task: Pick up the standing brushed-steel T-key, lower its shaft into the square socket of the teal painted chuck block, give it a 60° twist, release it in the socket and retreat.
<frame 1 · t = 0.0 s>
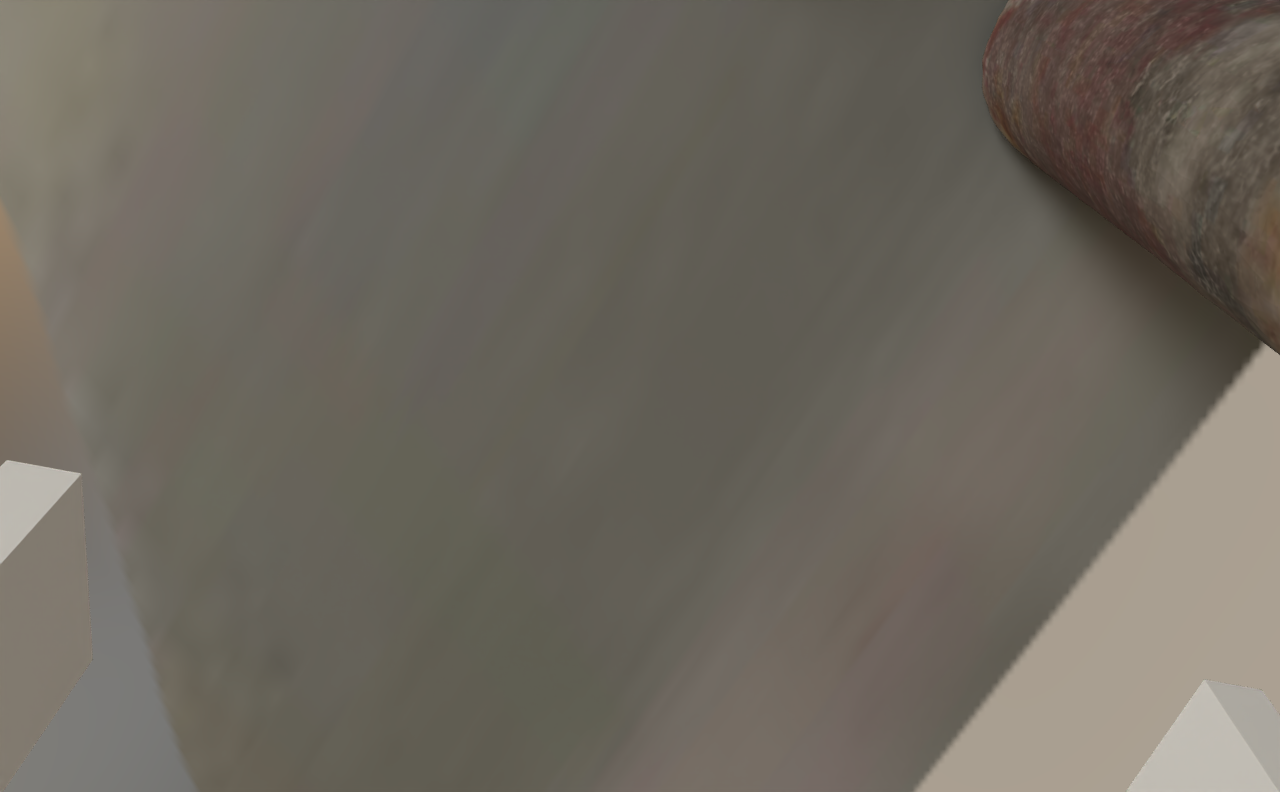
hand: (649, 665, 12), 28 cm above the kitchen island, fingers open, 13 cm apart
brown mottled cylinder: (1079, 56, 35), on the kitchen island
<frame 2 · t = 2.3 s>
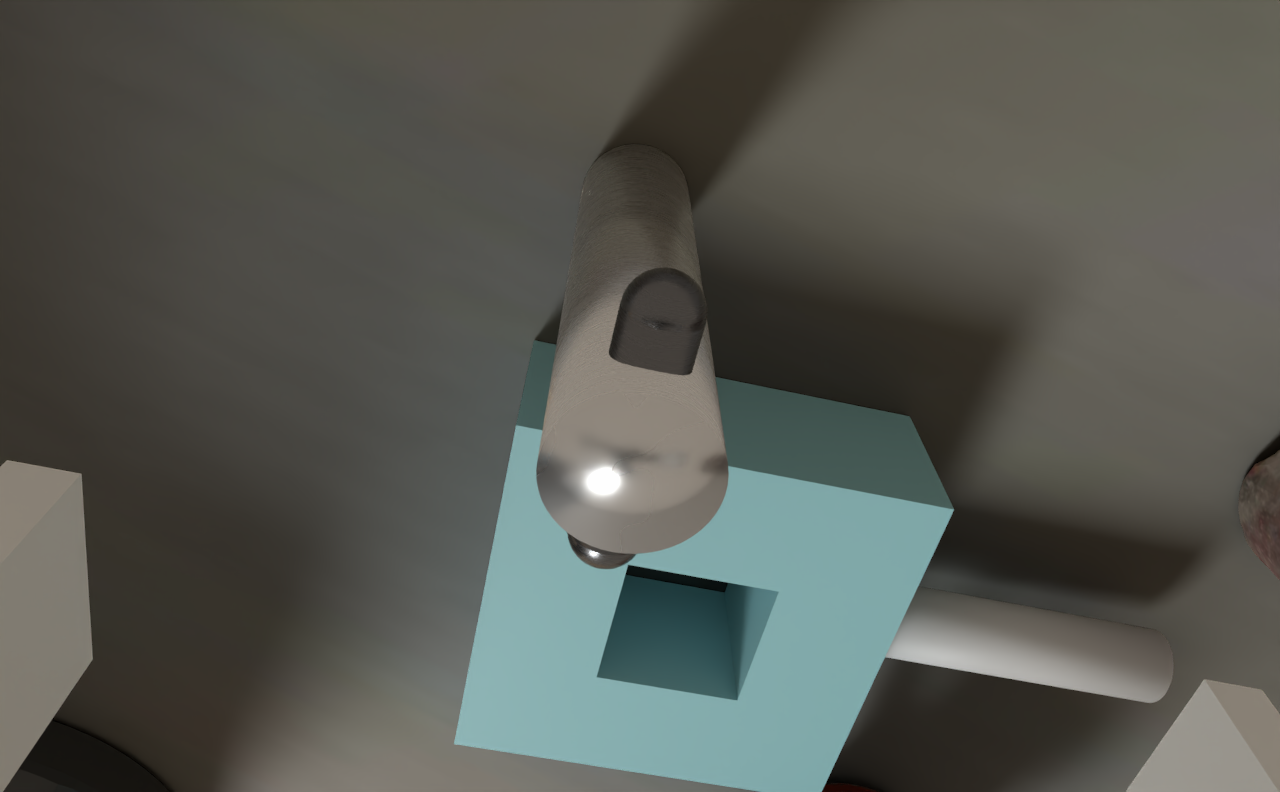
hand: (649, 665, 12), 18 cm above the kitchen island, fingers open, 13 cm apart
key: (635, 197, 28), on the kitchen island
chuck block: (679, 531, 33), on the kitchen island
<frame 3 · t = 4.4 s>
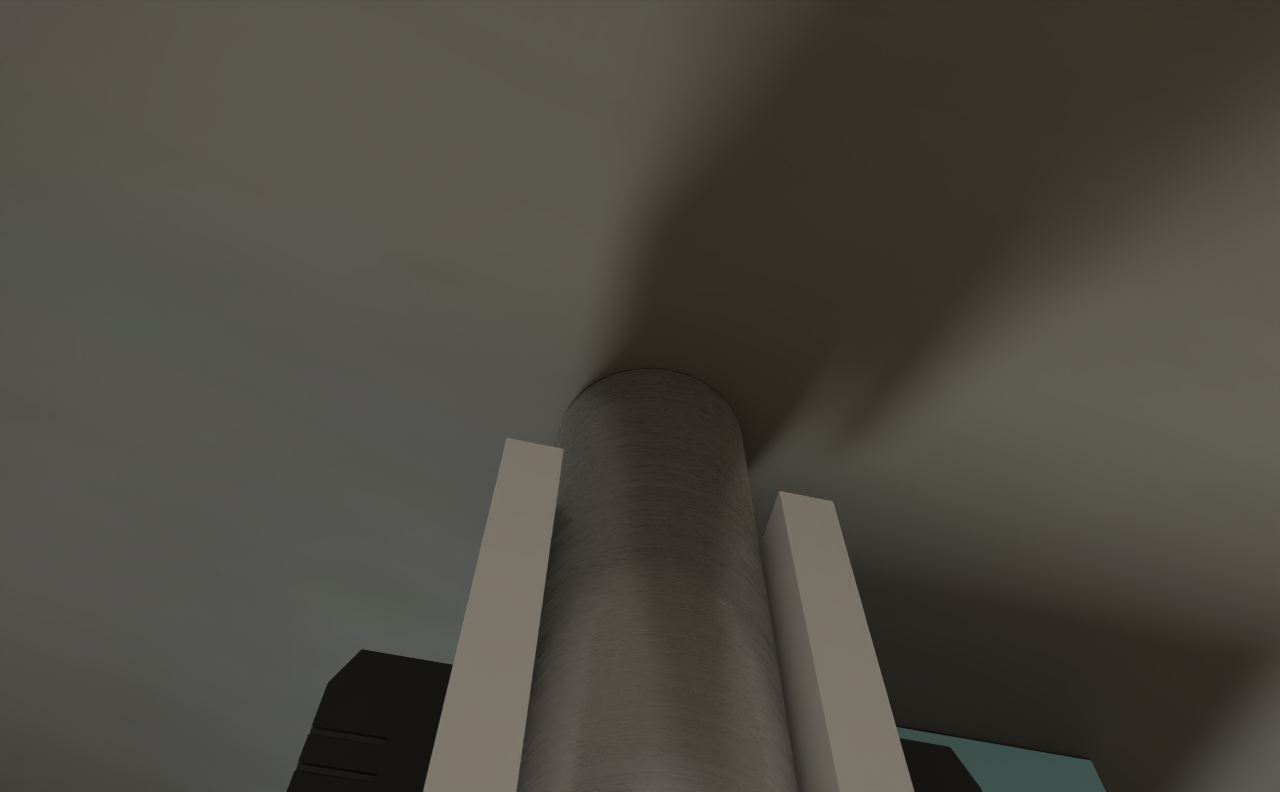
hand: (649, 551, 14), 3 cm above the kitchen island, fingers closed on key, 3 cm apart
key: (649, 451, 16), on the kitchen island, touching gripper
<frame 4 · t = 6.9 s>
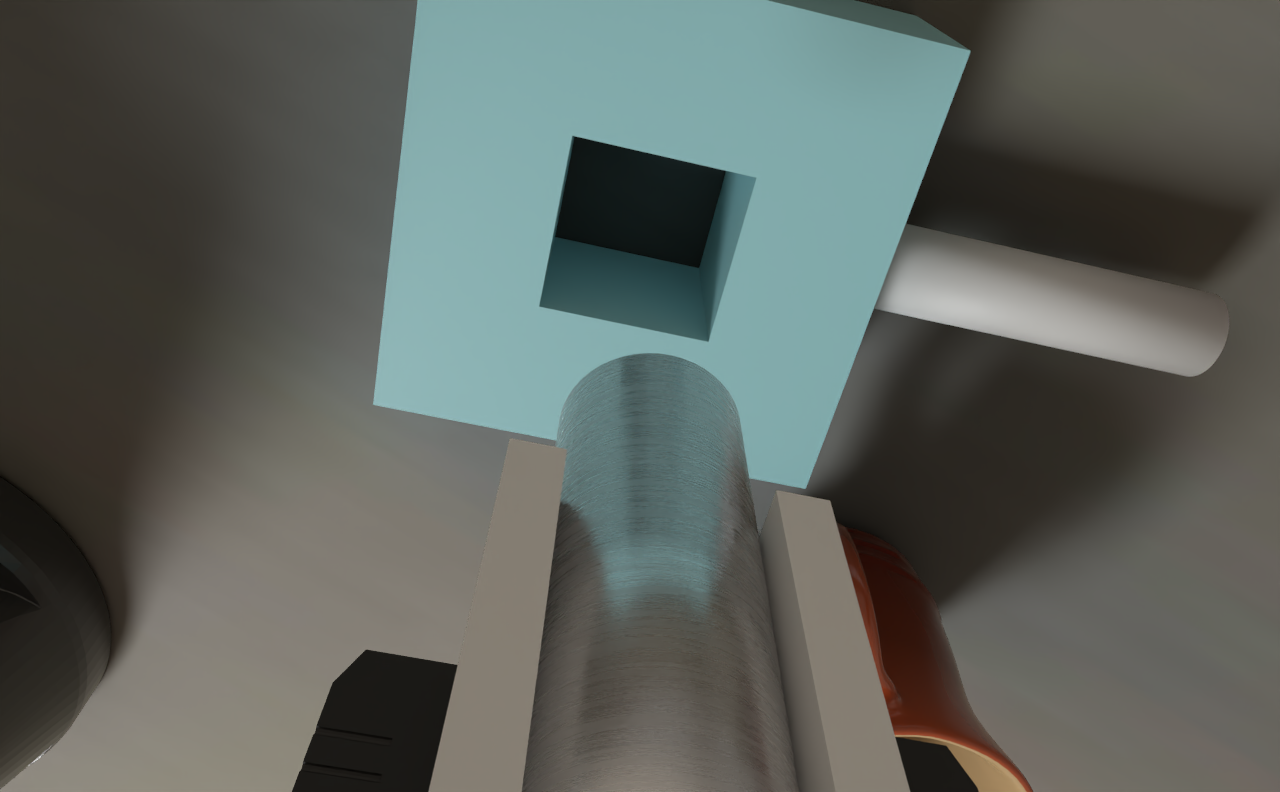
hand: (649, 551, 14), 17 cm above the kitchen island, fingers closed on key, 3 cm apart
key: (649, 434, 16), point 14 cm above the kitchen island, touching gripper
chuck block: (644, 182, 28), on the kitchen island
mug: (814, 555, 35), on the kitchen island
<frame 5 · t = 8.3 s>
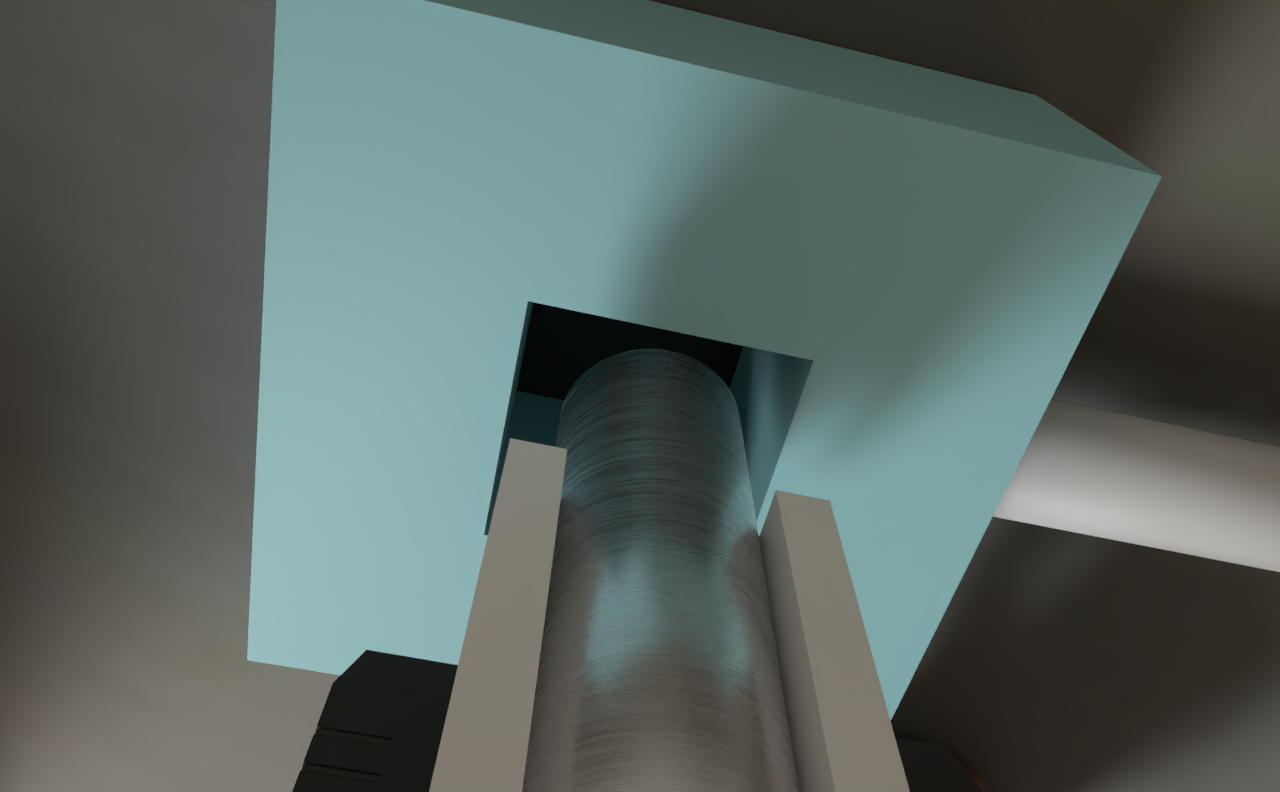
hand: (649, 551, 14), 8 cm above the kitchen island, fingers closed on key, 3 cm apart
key: (649, 429, 16), point 4 cm above the kitchen island, touching gripper
chuck block: (640, 320, 20), on the kitchen island
when the fingers open (6 cm above the kitchen island, at t = 9.3 s): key drops 3 cm, resting in chuck block.
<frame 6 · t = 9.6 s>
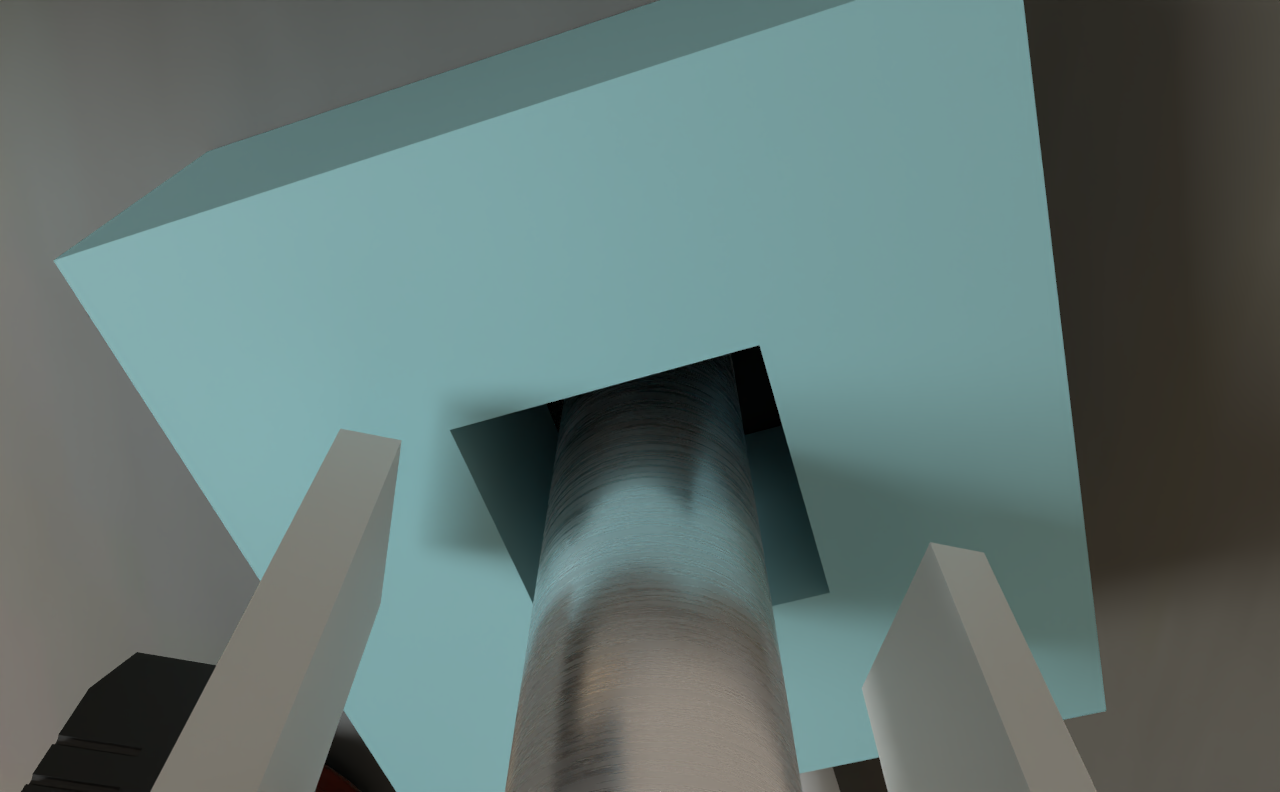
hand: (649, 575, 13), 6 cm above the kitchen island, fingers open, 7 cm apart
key: (650, 355, 19), resting in chuck block
chuck block: (648, 357, 19), on the kitchen island
mug: (300, 781, 25), on the kitchen island
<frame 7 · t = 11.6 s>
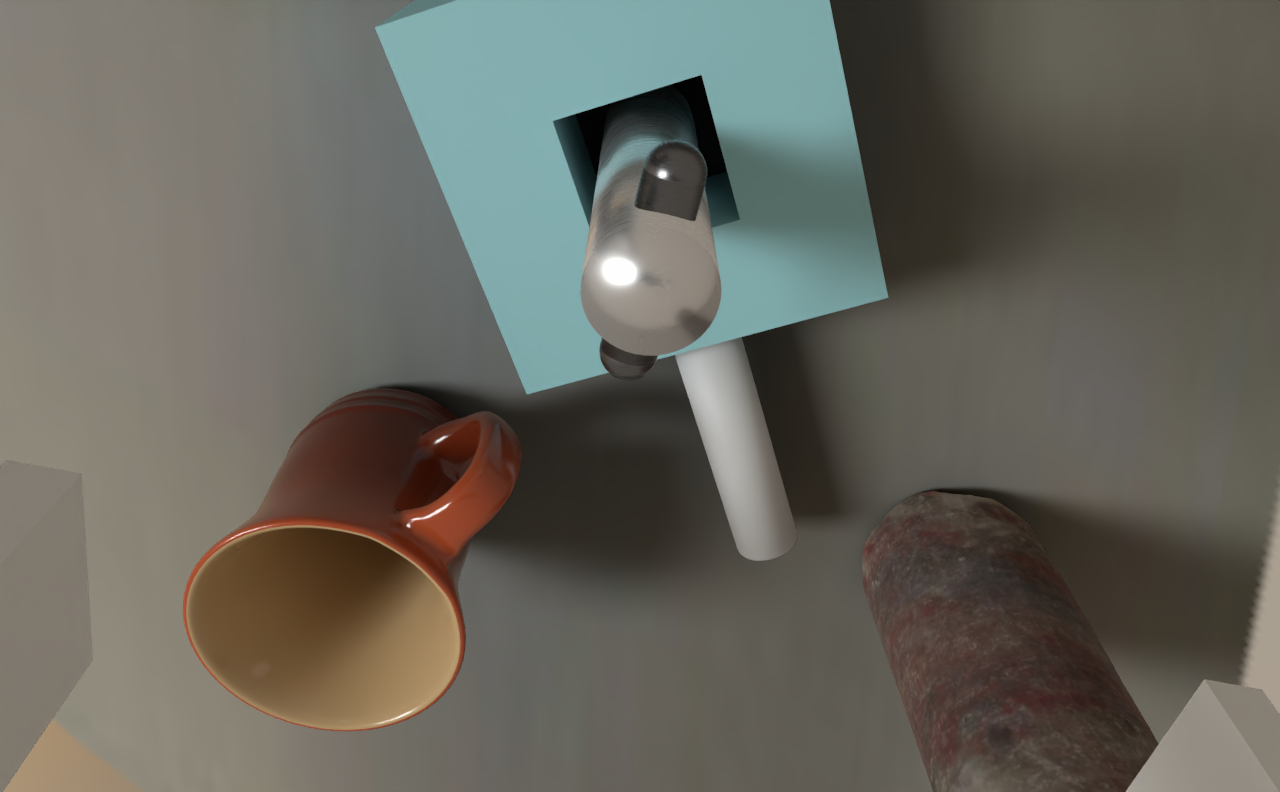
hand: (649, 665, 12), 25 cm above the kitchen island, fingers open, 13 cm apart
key: (649, 126, 33), resting in chuck block
brown mottled cylinder: (946, 551, 42), on the kitchen island
chuck block: (648, 128, 33), on the kitchen island
mug: (425, 430, 39), on the kitchen island
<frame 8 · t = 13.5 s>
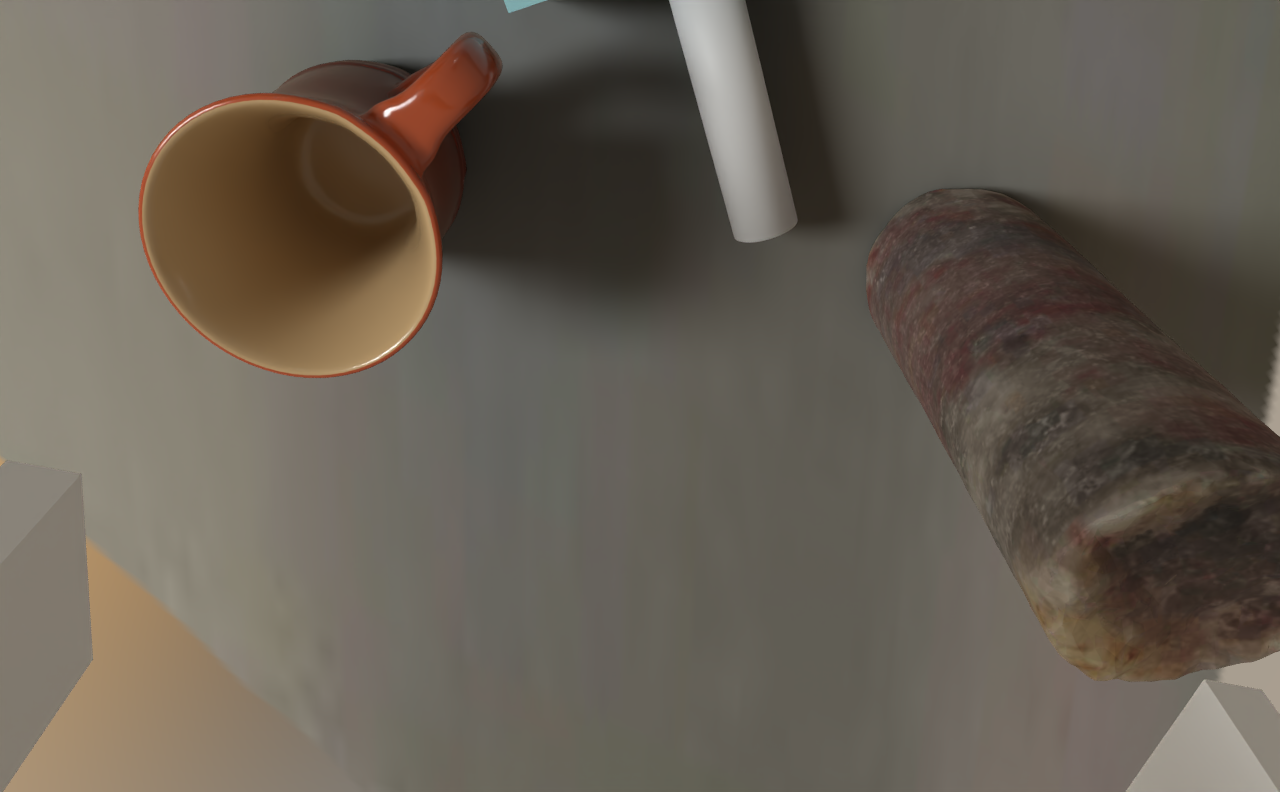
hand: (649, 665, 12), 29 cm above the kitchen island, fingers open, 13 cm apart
brown mottled cylinder: (955, 268, 40), on the kitchen island
mug: (405, 121, 37), on the kitchen island
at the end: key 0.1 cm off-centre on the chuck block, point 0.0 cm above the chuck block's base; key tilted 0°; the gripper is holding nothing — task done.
